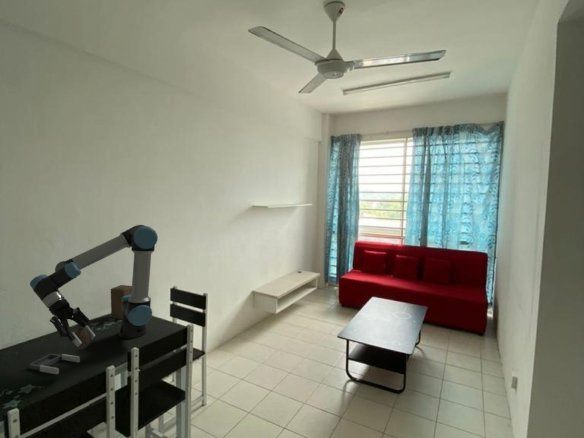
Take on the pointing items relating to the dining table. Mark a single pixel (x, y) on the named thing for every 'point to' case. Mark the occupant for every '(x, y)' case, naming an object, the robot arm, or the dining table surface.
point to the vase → (82, 338)
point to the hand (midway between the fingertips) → (86, 341)
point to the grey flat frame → (45, 361)
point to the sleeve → (56, 370)
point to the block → (118, 299)
